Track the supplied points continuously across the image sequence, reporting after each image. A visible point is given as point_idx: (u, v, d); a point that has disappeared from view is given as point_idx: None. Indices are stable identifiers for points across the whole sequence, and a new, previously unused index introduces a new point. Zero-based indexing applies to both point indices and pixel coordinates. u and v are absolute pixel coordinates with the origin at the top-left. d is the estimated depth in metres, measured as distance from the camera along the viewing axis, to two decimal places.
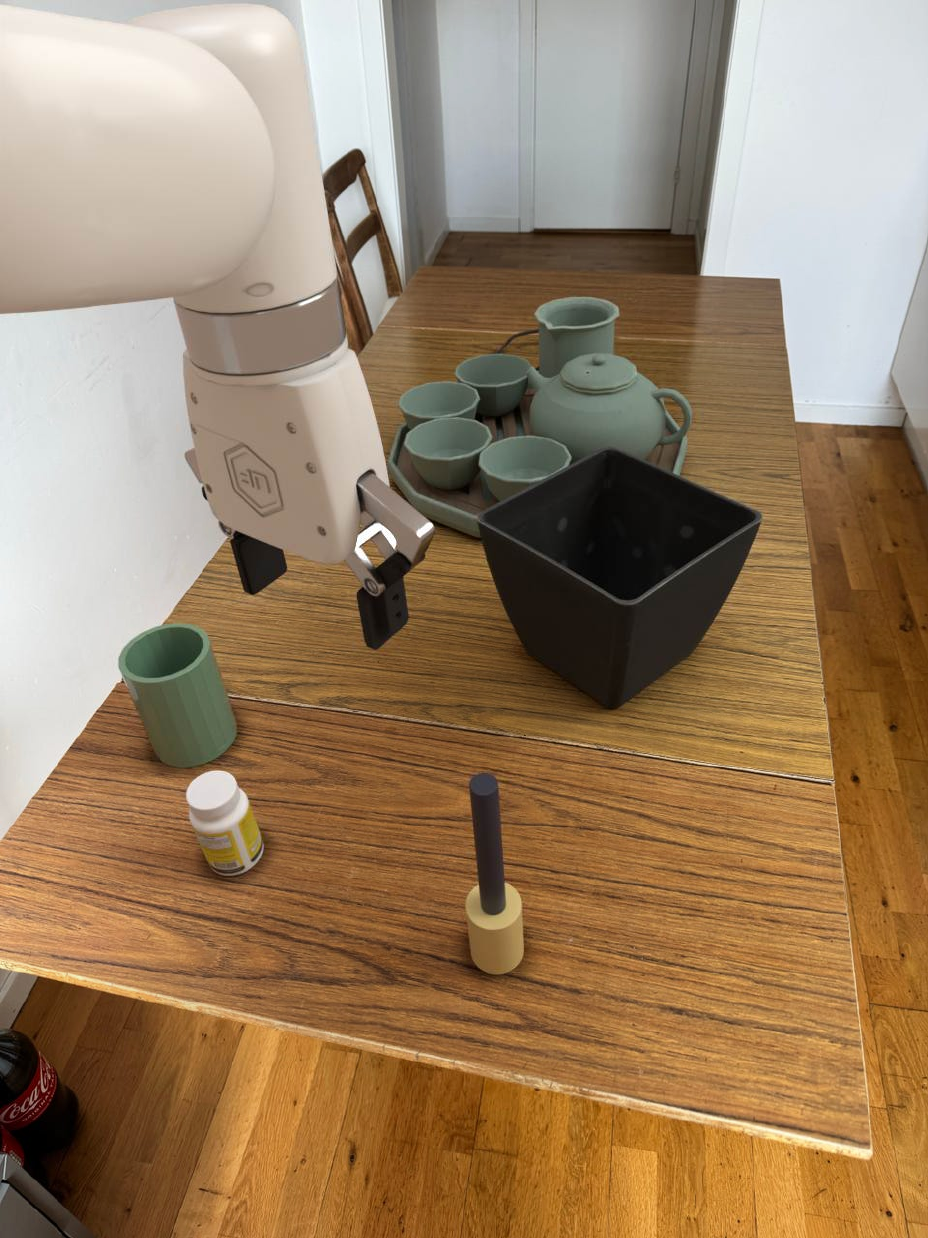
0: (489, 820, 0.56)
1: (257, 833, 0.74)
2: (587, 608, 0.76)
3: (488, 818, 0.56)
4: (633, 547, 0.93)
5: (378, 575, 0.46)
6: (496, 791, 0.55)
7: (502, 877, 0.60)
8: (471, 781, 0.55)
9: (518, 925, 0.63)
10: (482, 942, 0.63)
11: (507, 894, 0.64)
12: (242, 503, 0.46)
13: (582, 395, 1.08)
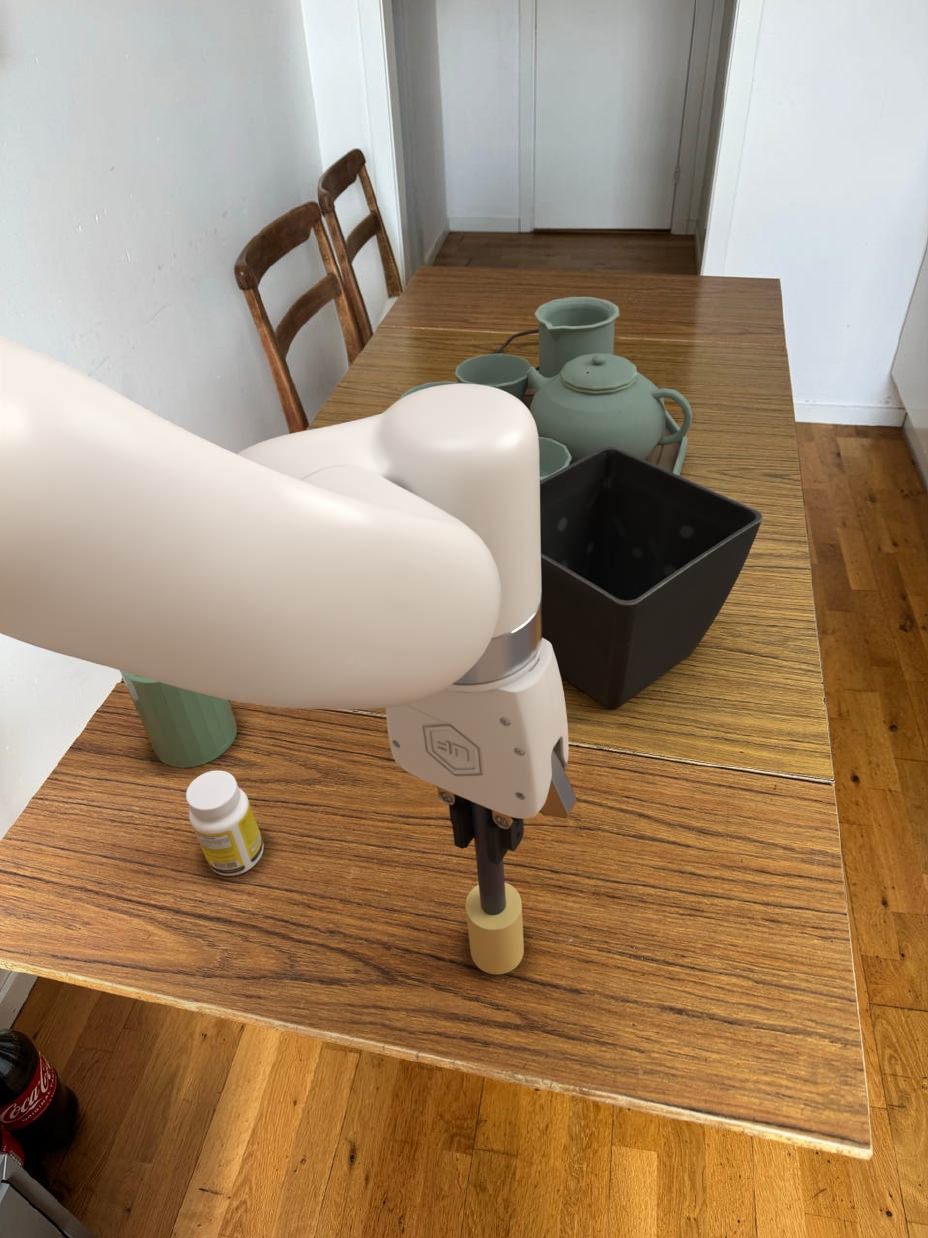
0: None
1: (257, 833, 0.74)
2: (587, 608, 0.76)
3: (488, 818, 0.56)
4: (633, 547, 0.93)
5: None
6: None
7: (502, 877, 0.60)
8: None
9: (518, 925, 0.63)
10: (482, 942, 0.63)
11: (507, 894, 0.64)
12: (434, 762, 0.51)
13: (582, 395, 1.08)
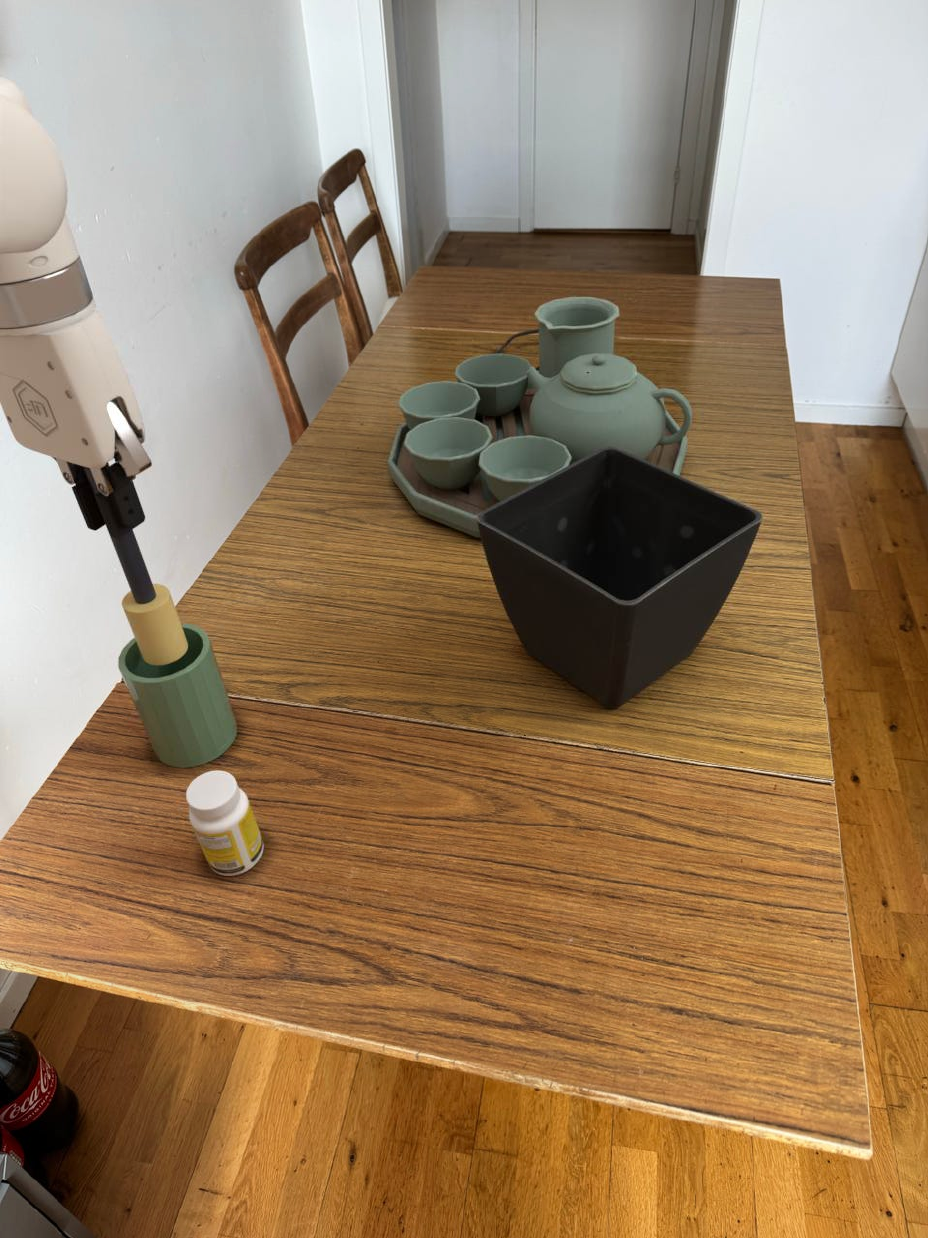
0: None
1: (257, 833, 0.74)
2: (587, 608, 0.76)
3: None
4: (633, 547, 0.93)
5: None
6: None
7: (140, 564, 0.73)
8: None
9: (165, 614, 0.76)
10: (136, 629, 0.76)
11: (159, 591, 0.76)
12: (32, 427, 0.64)
13: (582, 395, 1.08)
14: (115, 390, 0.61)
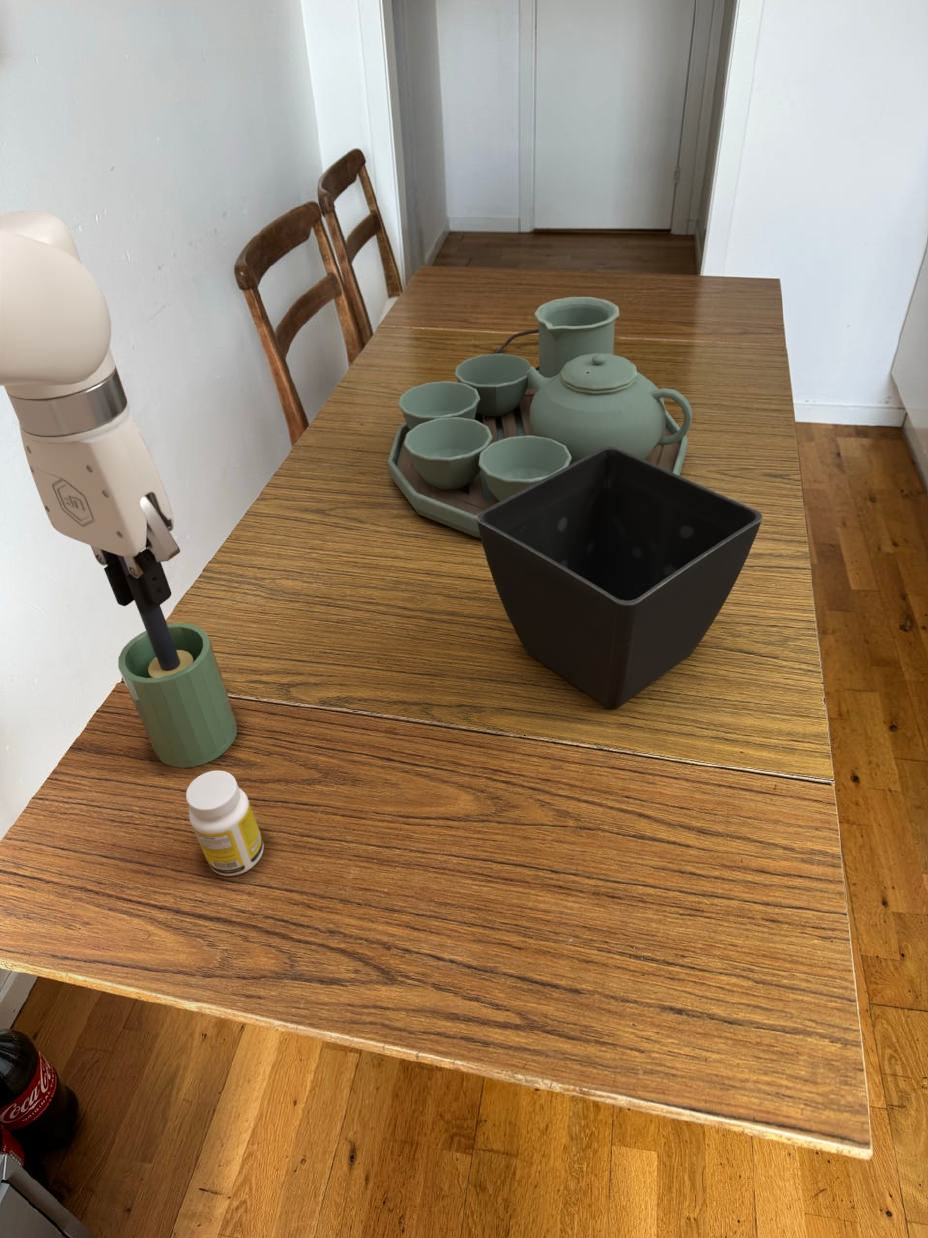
0: None
1: (257, 833, 0.74)
2: (587, 608, 0.76)
3: None
4: (633, 547, 0.93)
5: None
6: None
7: (166, 635, 0.78)
8: None
9: None
10: None
11: (183, 658, 0.81)
12: (69, 518, 0.69)
13: (582, 395, 1.08)
14: (147, 487, 0.66)
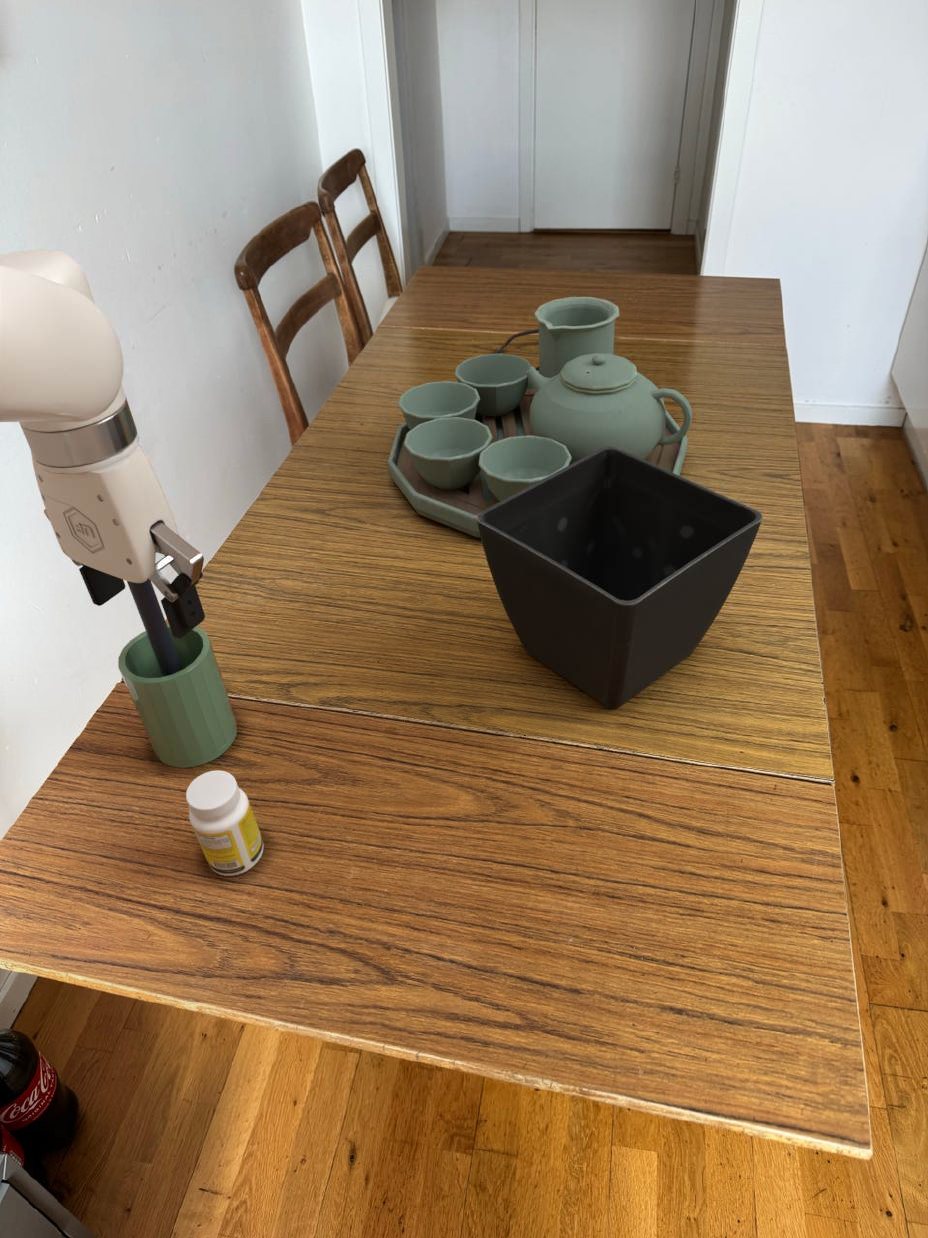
0: (143, 600, 0.75)
1: (257, 833, 0.74)
2: (587, 608, 0.76)
3: (141, 598, 0.75)
4: (633, 547, 0.93)
5: (172, 588, 0.70)
6: None
7: (173, 656, 0.79)
8: None
9: None
10: None
11: None
12: (79, 544, 0.70)
13: (582, 395, 1.08)
14: (156, 515, 0.68)
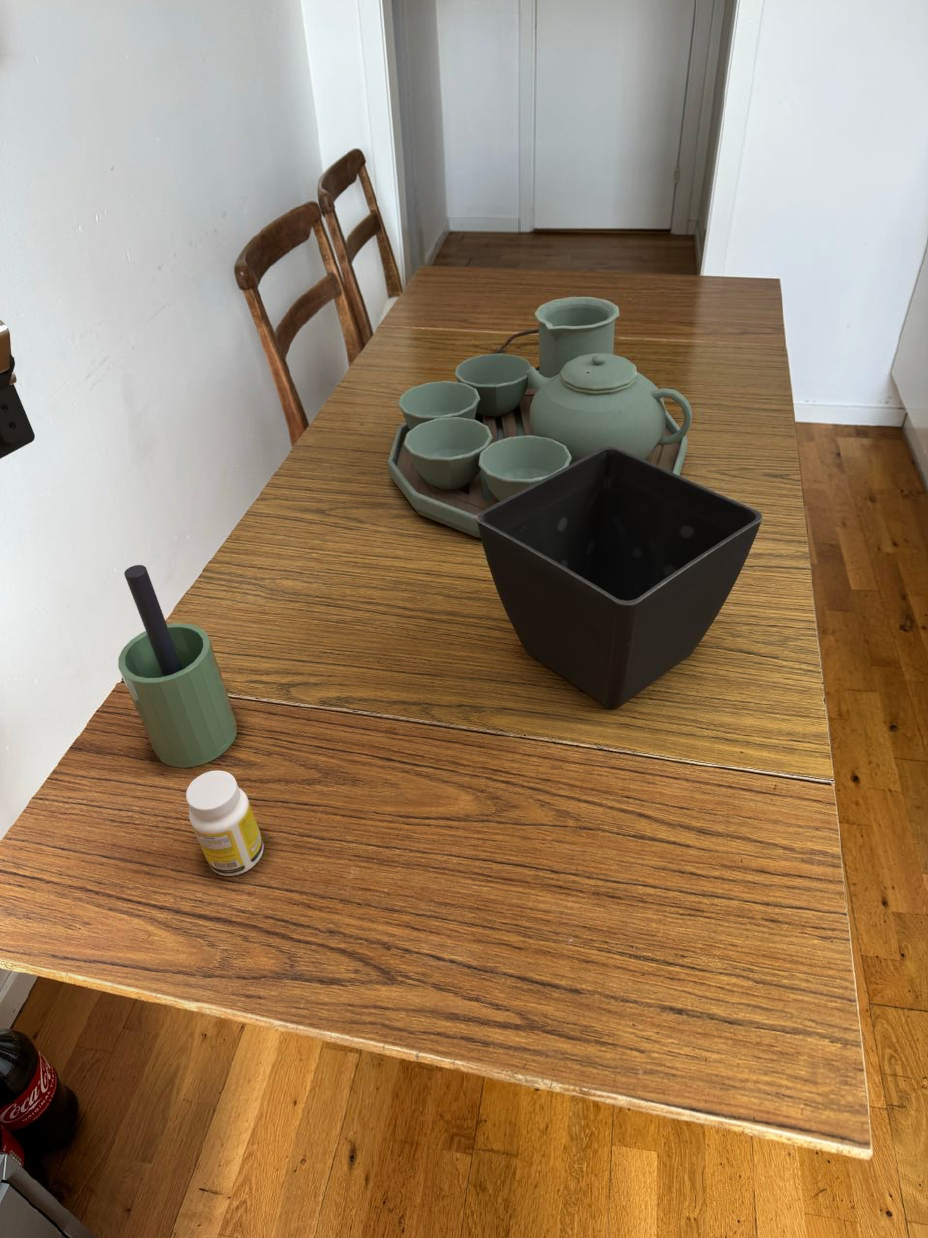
0: (143, 600, 0.75)
1: (257, 833, 0.74)
2: (587, 608, 0.76)
3: (141, 598, 0.75)
4: (633, 547, 0.93)
5: None
6: (143, 576, 0.74)
7: (173, 656, 0.79)
8: (127, 569, 0.74)
9: None
10: None
11: None
12: None
13: (582, 395, 1.08)
14: None
